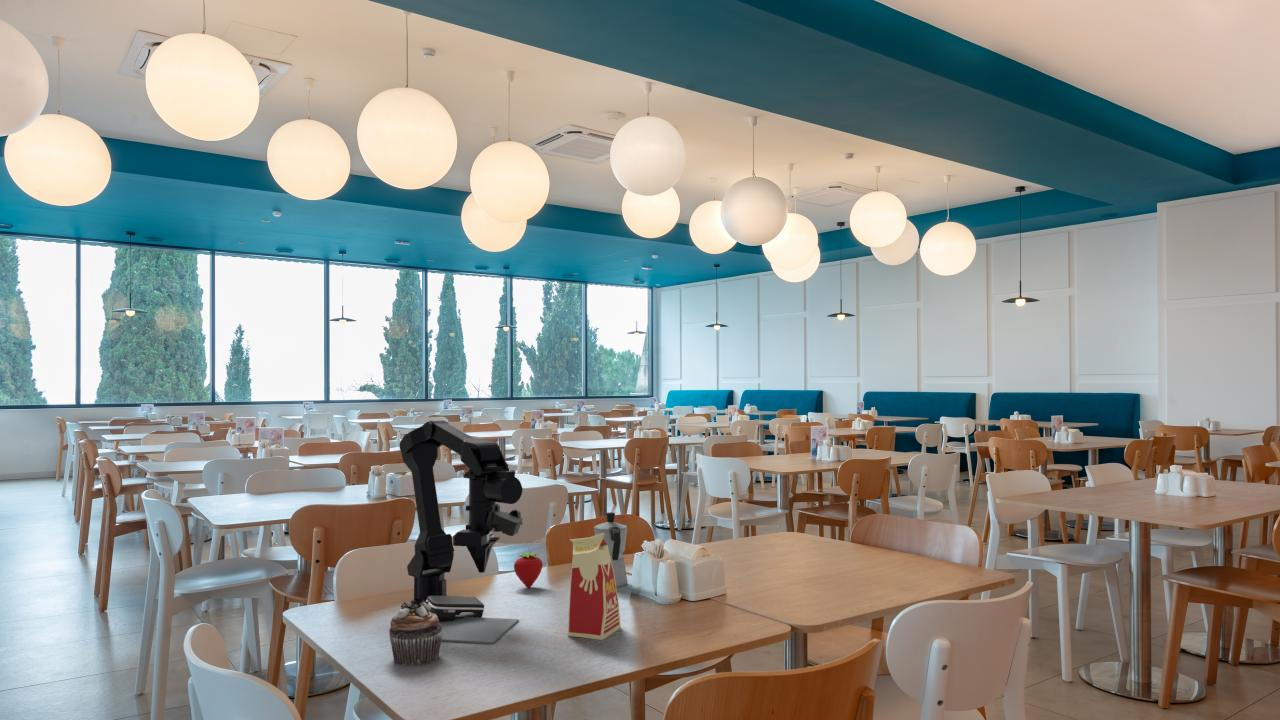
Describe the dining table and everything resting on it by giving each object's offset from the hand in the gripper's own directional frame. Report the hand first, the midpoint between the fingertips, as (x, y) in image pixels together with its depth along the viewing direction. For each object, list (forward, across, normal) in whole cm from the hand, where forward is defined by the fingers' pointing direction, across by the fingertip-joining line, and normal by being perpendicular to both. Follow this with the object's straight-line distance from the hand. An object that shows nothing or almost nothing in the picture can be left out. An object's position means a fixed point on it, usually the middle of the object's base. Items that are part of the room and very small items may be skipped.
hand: (482, 572), depth 175 cm
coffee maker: (+10, +33, -22) cm, 41 cm away
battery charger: (+8, +1, +1) cm, 8 cm away
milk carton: (+10, -7, -26) cm, 29 cm away
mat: (+10, -10, 0) cm, 14 cm away
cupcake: (+10, -28, +2) cm, 30 cm away
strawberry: (+10, +27, -2) cm, 29 cm away
